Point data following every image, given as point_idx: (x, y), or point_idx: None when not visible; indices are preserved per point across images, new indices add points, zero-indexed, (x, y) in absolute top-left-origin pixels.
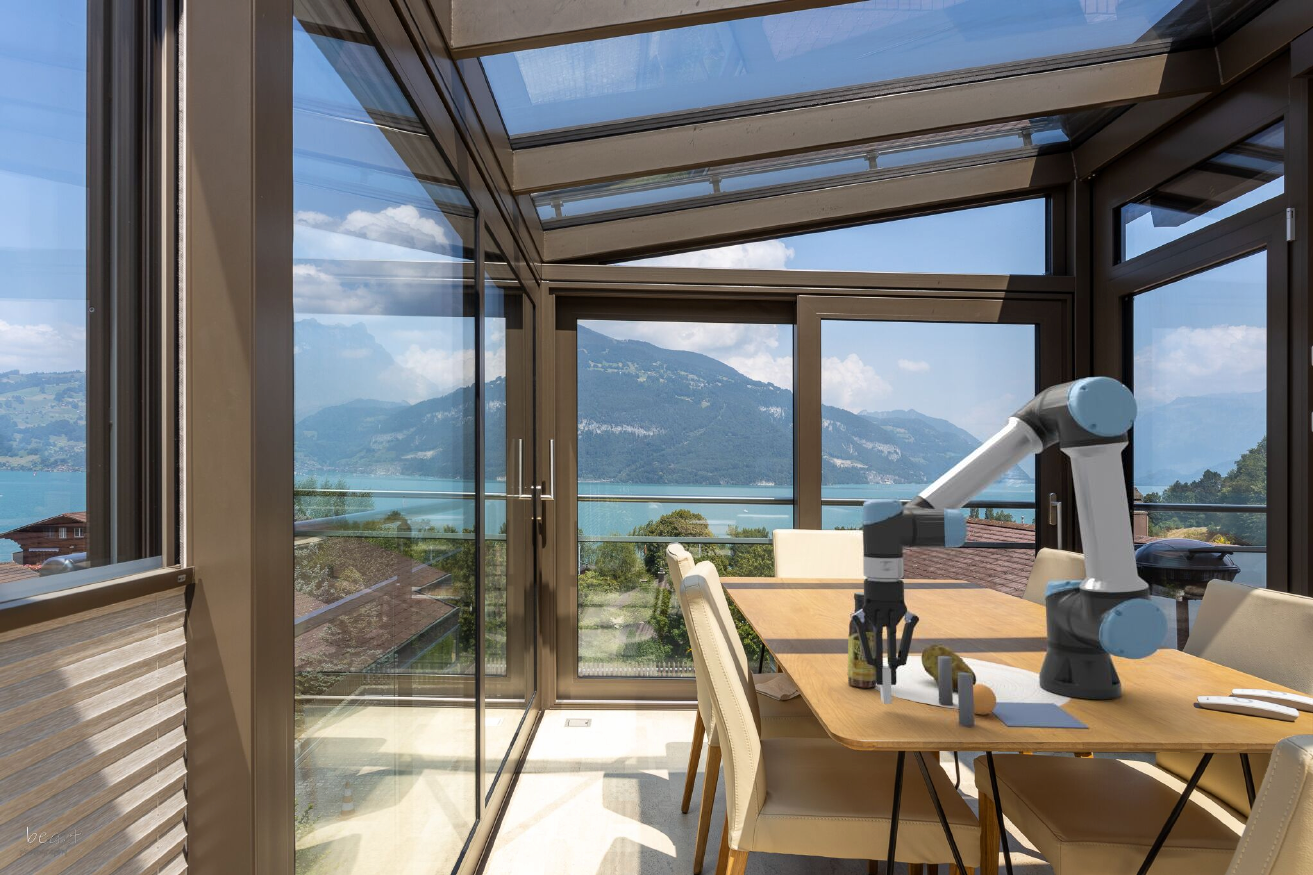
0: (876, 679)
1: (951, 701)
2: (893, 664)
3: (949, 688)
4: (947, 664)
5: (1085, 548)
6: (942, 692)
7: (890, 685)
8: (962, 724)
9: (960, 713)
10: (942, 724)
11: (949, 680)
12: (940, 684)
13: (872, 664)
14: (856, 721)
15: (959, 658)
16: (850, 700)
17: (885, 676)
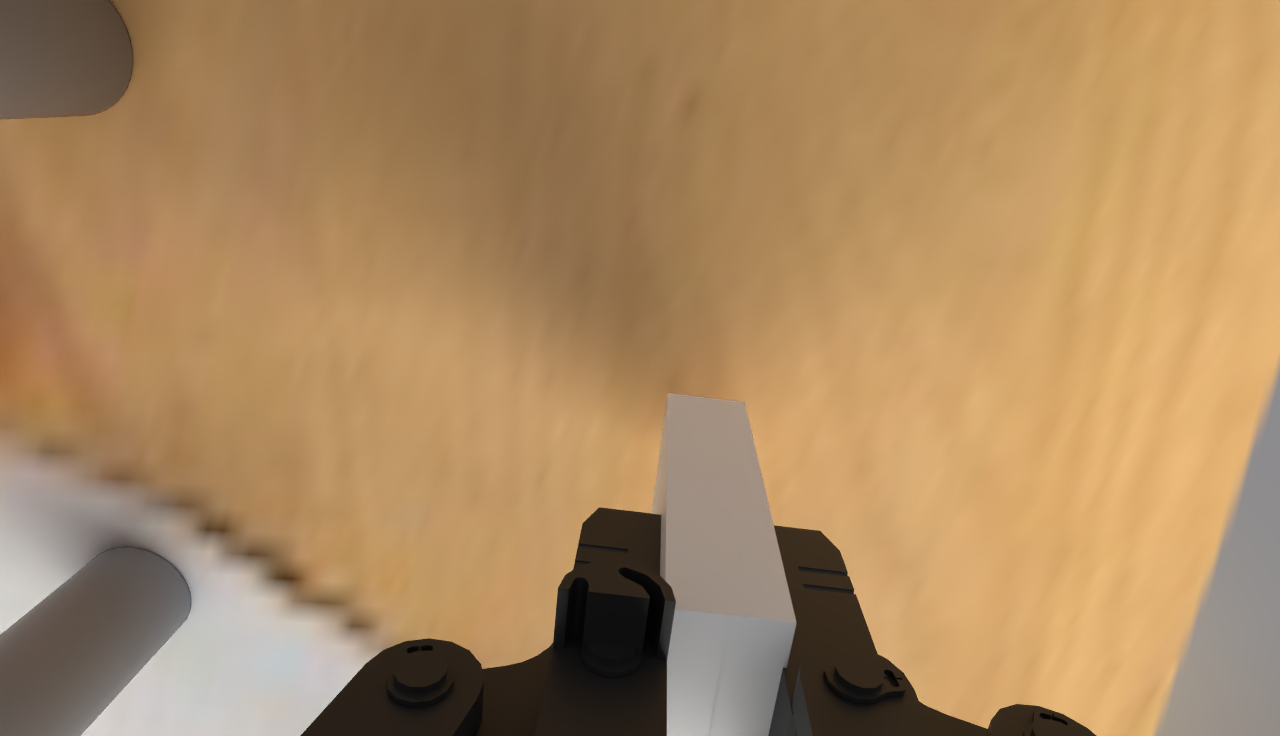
0: (845, 569)
1: (82, 568)
2: (610, 667)
3: (8, 637)
4: None
5: None
6: (103, 626)
7: (676, 478)
8: (104, 3)
9: (40, 11)
10: (293, 49)
11: None
12: (66, 689)
13: (968, 732)
14: (1083, 170)
15: None
16: None
17: (745, 550)
